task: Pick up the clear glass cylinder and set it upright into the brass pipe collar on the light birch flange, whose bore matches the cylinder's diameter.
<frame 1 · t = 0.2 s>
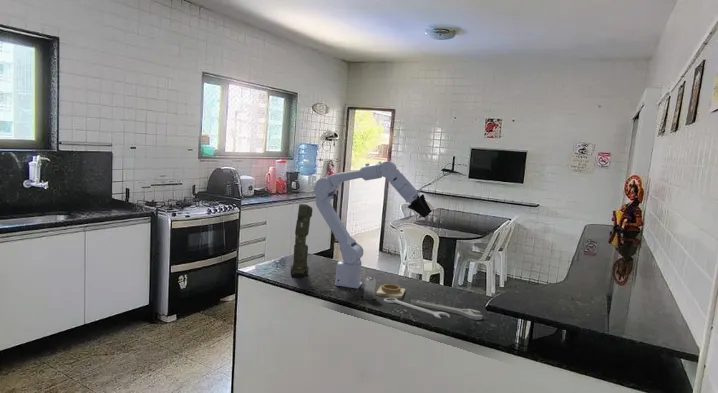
hand: (428, 214, 170), 31 cm above the counter, tool tilted 45°, fingers open, 7 cm apart
wrench: (415, 310, 160), on the counter
mechanical leg: (299, 274, 190), on the counter
adjustable wrench: (446, 311, 161), on the counter
socket: (390, 293, 174), on the counter
clear glass cylinder: (369, 297, 167), on the counter
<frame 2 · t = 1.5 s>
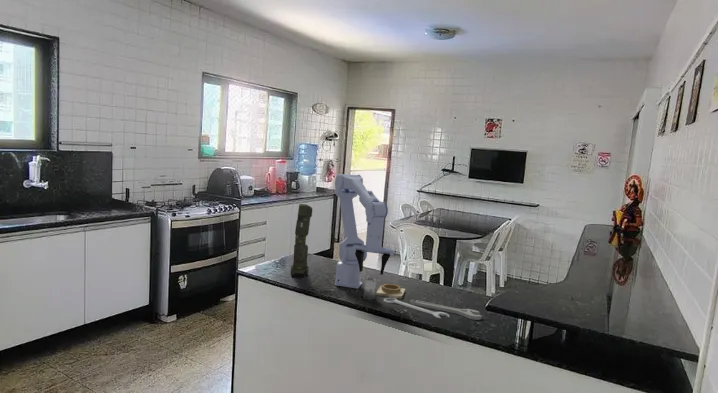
hand: (371, 272, 166), 9 cm above the counter, tool pointing down, fingers open, 7 cm apart
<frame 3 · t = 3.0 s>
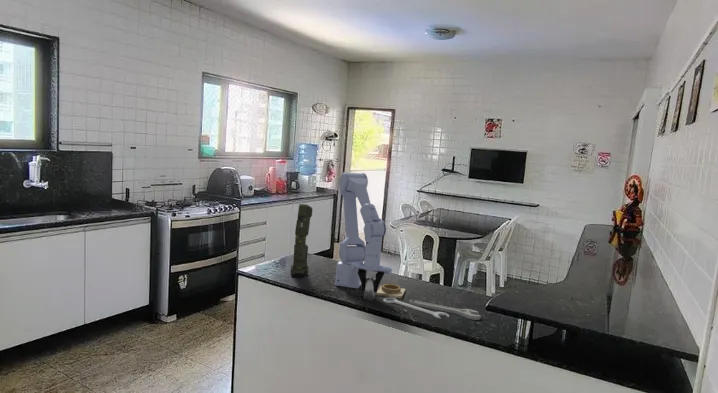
hand: (369, 290, 166), 3 cm above the counter, tool pointing down, fingers closed on clear glass cylinder, 4 cm apart
clear glass cylinder: (369, 297, 167), on the counter, touching gripper
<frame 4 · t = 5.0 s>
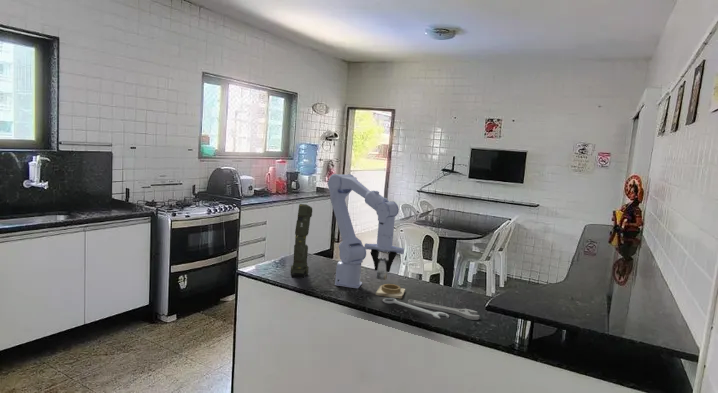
hand: (382, 270, 169), 9 cm above the counter, tool pointing down, fingers closed on clear glass cylinder, 4 cm apart
clear glass cylinder: (381, 278, 169), point 7 cm above the counter, touching gripper
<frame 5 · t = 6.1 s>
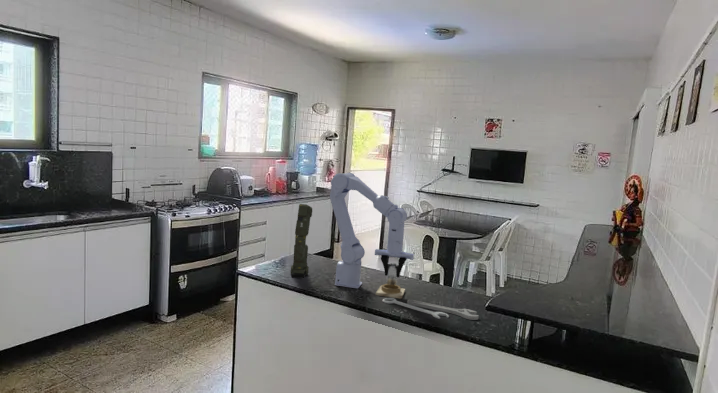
hand: (392, 275, 173), 7 cm above the counter, tool pointing down, fingers closed on clear glass cylinder, 4 cm apart
clear glass cylinder: (391, 283, 173), point 4 cm above the counter, touching gripper
when the fingers open (4 cm above the counter, at t = 7.0 s): clear glass cylinder stays where it is, resting on socket.
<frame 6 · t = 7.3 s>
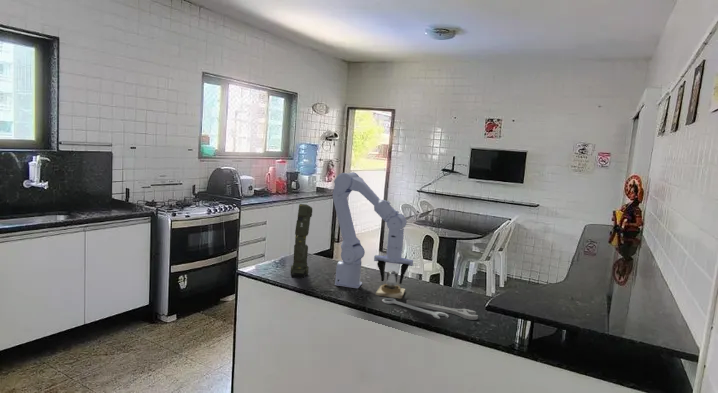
hand: (391, 281, 174), 4 cm above the counter, tool pointing down, fingers open, 6 cm apart
clear glass cylinder: (390, 290, 174), point 1 cm above the counter, touching socket
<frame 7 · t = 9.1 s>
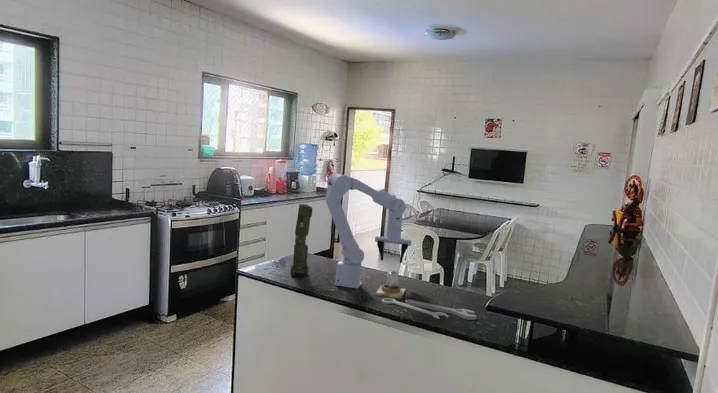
hand: (391, 261, 185), 9 cm above the counter, tool pointing down, fingers open, 7 cm apart
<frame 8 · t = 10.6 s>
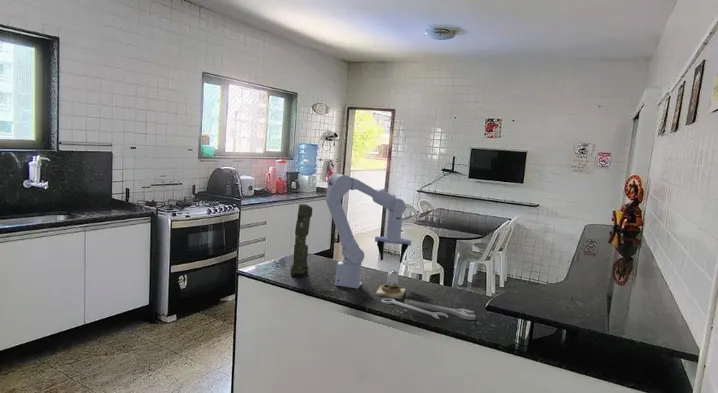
hand: (391, 261, 185), 9 cm above the counter, tool pointing down, fingers open, 7 cm apart
at the end: clear glass cylinder 0.3 cm off-centre on the socket, point 1.1 cm above the socket's base; clear glass cylinder tilted 2°; the gripper is holding nothing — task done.
